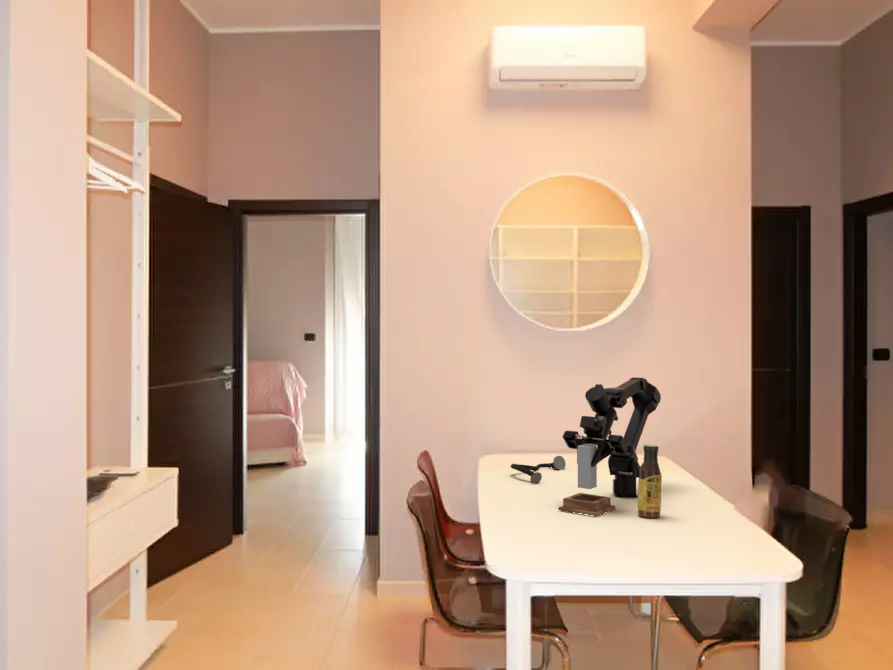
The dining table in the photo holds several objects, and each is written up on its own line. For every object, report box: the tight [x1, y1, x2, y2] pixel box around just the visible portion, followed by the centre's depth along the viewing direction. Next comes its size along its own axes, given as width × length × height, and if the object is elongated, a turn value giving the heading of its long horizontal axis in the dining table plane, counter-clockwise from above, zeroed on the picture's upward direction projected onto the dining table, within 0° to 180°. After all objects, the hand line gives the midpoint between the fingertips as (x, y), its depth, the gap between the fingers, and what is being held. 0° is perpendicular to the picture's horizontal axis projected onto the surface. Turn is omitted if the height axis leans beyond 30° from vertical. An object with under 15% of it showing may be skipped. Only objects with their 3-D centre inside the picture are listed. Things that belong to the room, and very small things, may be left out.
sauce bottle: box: [637, 444, 663, 519], centre depth 218 cm, size 6×6×20 cm
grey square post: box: [577, 444, 598, 490], centre depth 225 cm, size 4×4×12 cm
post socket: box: [557, 492, 616, 517], centre depth 225 cm, size 12×12×4 cm
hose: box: [510, 455, 567, 485], centre depth 279 cm, size 34×14×6 cm, turn 155°
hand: (584, 465), depth 223 cm, fingers closed on grey square post, 4 cm apart
